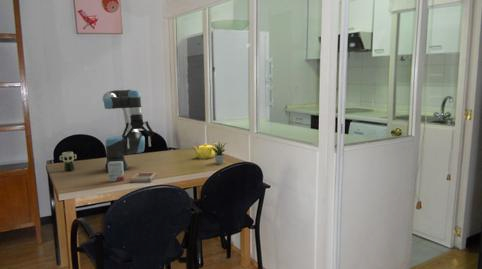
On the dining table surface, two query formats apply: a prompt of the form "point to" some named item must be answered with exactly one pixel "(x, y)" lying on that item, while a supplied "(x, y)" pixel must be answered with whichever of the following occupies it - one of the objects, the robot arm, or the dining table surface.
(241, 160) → the dining table surface
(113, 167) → the ink box
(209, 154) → the teapot
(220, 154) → the house plant
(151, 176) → the holder
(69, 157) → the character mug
